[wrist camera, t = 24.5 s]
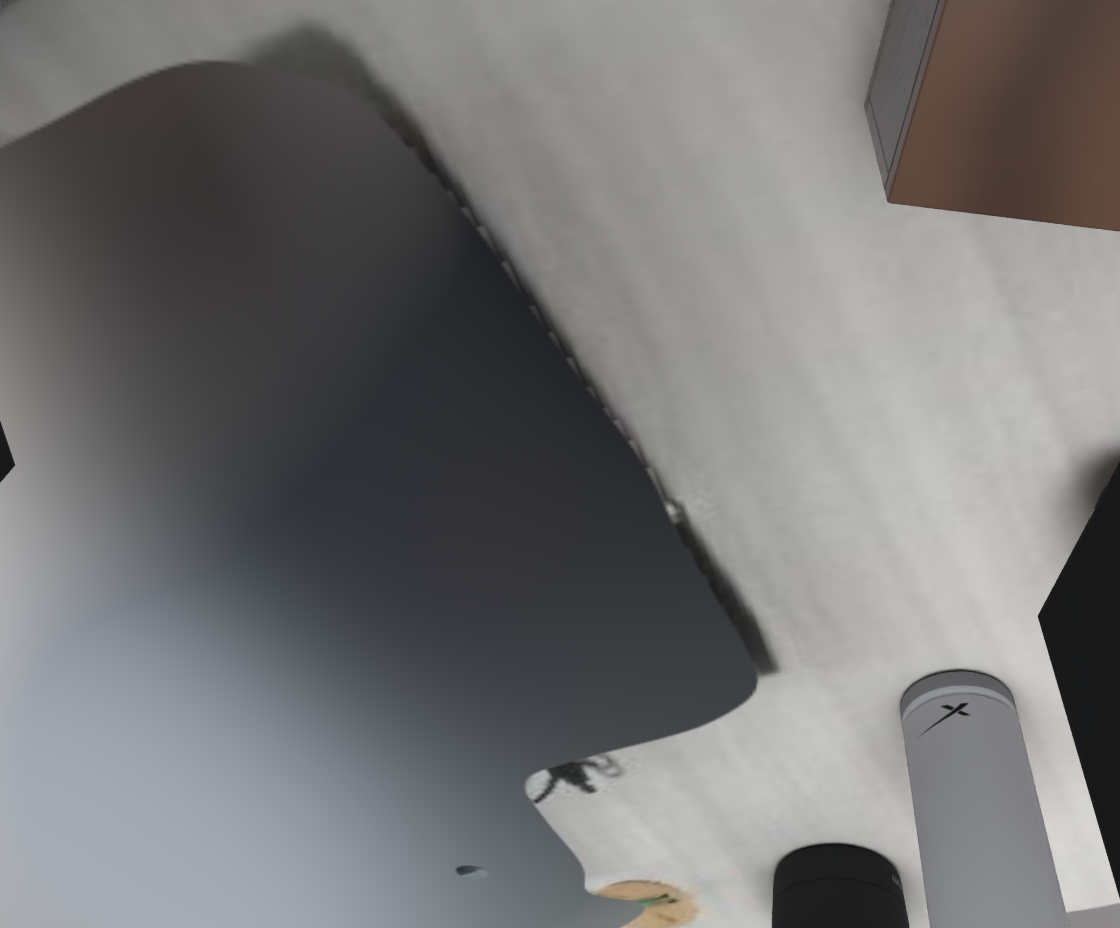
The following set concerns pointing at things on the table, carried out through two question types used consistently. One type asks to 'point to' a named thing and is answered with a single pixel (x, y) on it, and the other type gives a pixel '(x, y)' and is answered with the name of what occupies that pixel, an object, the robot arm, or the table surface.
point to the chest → (896, 75)
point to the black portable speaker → (837, 890)
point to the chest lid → (1016, 113)
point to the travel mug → (977, 807)
